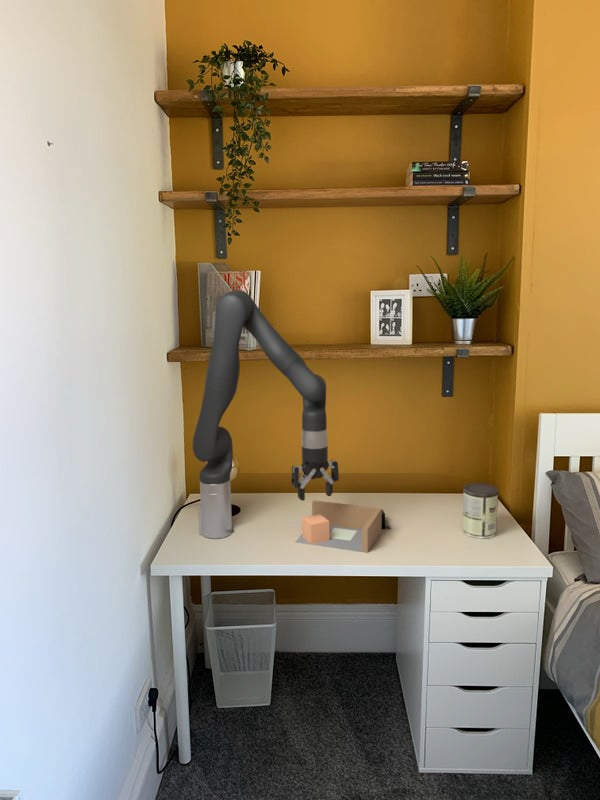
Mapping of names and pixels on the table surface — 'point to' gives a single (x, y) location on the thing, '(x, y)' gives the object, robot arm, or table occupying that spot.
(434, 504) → the table surface
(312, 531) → the cube
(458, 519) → the table surface
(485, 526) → the coffee can
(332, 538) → the arena
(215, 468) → the robot arm
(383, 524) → the black notched block
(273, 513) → the table surface
